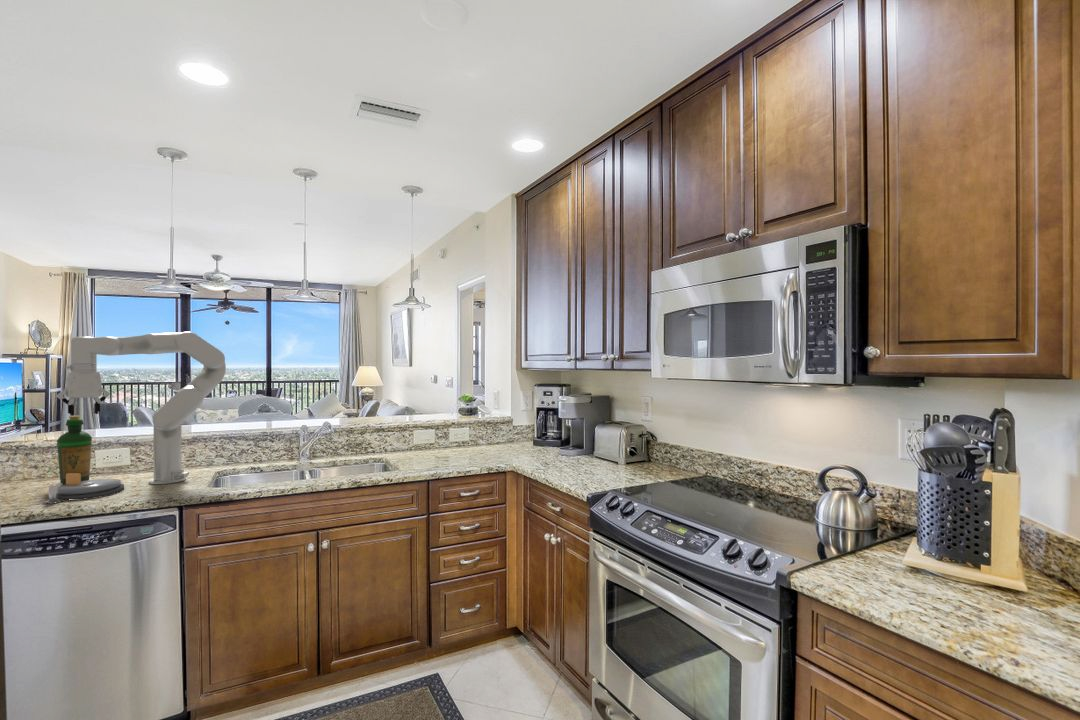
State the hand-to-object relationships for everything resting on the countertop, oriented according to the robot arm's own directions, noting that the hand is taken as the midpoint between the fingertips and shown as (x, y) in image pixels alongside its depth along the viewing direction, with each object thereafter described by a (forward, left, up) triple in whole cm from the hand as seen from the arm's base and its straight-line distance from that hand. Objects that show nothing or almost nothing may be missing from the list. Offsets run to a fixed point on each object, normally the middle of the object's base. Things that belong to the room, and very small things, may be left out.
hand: (84, 414), depth 203 cm
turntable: (-6, +4, -28) cm, 29 cm away
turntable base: (-6, +4, -30) cm, 30 cm away
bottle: (+12, -7, -30) cm, 33 cm away
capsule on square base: (-6, +17, -30) cm, 35 cm away
